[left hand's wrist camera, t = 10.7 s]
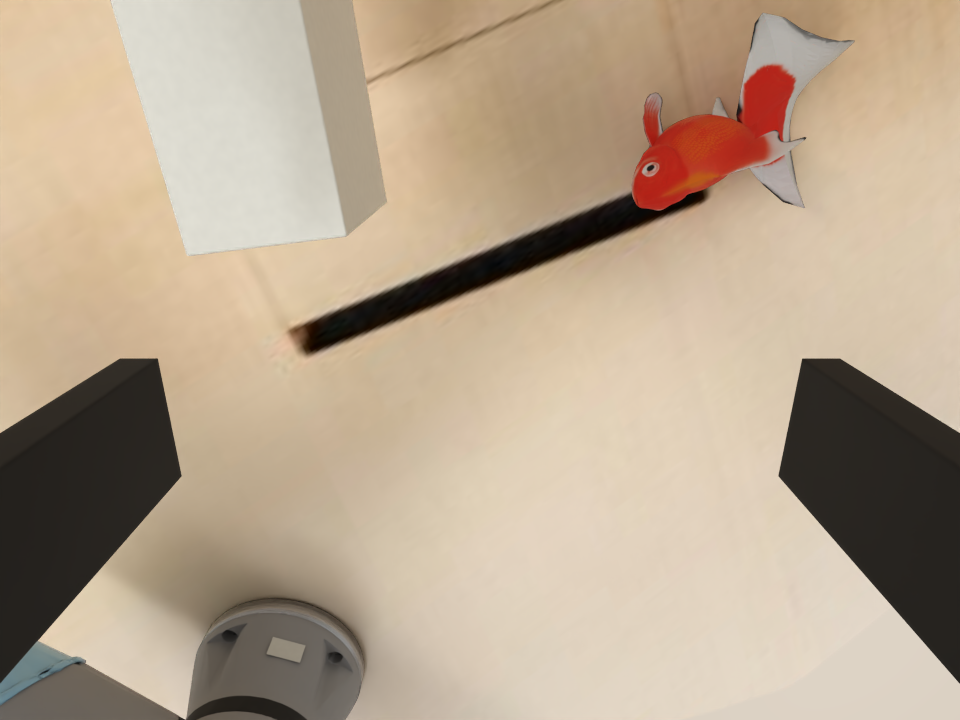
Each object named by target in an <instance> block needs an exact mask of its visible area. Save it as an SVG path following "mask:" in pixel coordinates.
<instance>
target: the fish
mask: <svg viewBox="0 0 960 720" xmlns="http://www.w3.org/2000/svg"><path fill="white" fill-rule="evenodd" d="M853 43H854V41H853V40H847V41H836V40H831V39H826V38H822V37H819V36H817V35H815V34H812V33H810V32H807V31H805V30H802V29H801V28H799V27H798V26H796V25H795V24H793V23H792V22H790V21H789V20H787V19H786V18H784V17H780V16H775V15H771V14H766V13H762V15H761V16H760V17H759V19H758V20H757V21H756V23H755V26H754V31H753V37H752V42H751V48H750V52H749V56H748V60H747V64H746V68H745V73H744V78H743V83H742V88H741V93H740V98H739V104H738V109H737V114H736V115H737V121H735V120H733V119H730V118H729V116H728V115H727V113H726V111H725V109H724V107H723V105H722V102H721V100H720V98H716V102H715V105H714V108H713V112H712V115H711V114H705V115H697V116H692V117H689V118H686V119H683V120H681V121H679V122H677V123H675V124H673V125H672V126H670V127H669V128H667V129H666V130H665V131H664V132H663V130H662V124H661V119H660V112H661V107H662V98H661V96H660V95H659V94H658V93H653V94H650V95H649V96H648V98H647V99H646V102H645V110H644V116H643V123H644V130H645V134H646V136H647V139H648V141H649V144H650V148H649V149H648V150H647V151H646V152H645V153H644V154H643V156H642V158H641V160H640V162H639V164H638V165H637V167H636V170H635V173H634V176H633V180H632V196H633V199H634V201H635V203H636V204H637V205H638V206H639V207H640V208H648V209H654V210H662V209H665V208H666V207H668V206H670V205H671V204H674V203H676V202H678V201H680V200H682V199H683V198H684V197H685V196H686V195H687V194H690V193H693V192H697V191H700V190H703V189H706V188H708V187H709V186H711V185H713V184H715V183H717V182H719V181H720V180H722V179H723V178H724V177H726V176H727V175H728V174H731V173H734V172H737V171H741V170H744V169H747V168H750V170H751V171H752V172H753V174H754V175H755V176H756V178H757V179H758V180H759V181H760V182H761V183H762V184H763V185H764V186H765V187H766V188H768V189H769V190H770V191H771V192H772V193H773V194H775V195H776V196H777V197H778V198H779V199H780V200H781V201H783V202H785V203H788V204H792V205H795V206H799V207H803V208H805V207H804V204H803V201H802V199H801V196H800V193H799V190H798V187H797V183H796V177H795V172H794V167H793V161H792V156H791V150H792V149H793V148H794V147H796V146H797V145H798V144H800V143H801V142H802V141H804V140H805V139H806V137H804V138H800V139H797V140H793V141H790V121H791V115H792V110H793V107H794V104H795V102H796V99H797V97H798V96H799V94H800V93H801V91H802V90H803V89H804V87H805V86H806V85H807V84H808V83H809V82H810V81H811V80H812V79H813V78H814V77H815V76H816V75H817V74H818V73H819V72H820V71H821V70H823V69H824V68H825V67H826V66H827V65H829V64H830V63H831V62H833V61H834V60H835V59H836V58H837V57H838V56H839V55H840V54H841V53H843V52H844V51H845V50H846V49H847V48H848V47H849V46H851V45H852V44H853Z"/></svg>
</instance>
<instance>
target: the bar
mask: <svg viewBox="0 0 960 720" xmlns="http://www.w3.org/2000/svg"><path fill="white" fill-rule="evenodd" d="M110 1H111V4H112V8H113V11H114V14H115V18H116V21H117V24H118V28H119V31H120V34H121V38H122V41H123V44H124V48H125V51H126V54H127V57H128V61H129V64H130V67H131V71H132V74H133V77H134V81H135V84H136V87H137V91H138V94H139V97H140V101H141V104H142V107H143V111H144V114H145V117H146V121H147V124H148V127H149V131H150V134H151V137H152V141H153V144H154V147H155V151H156V154H157V157H158V161H159V164H160V167H161V171H162V174H163V177H164V181H165V184H166V187H167V191H168V194H169V197H170V201H171V204H172V207H173V211H174V214H175V217H176V221H177V224H178V227H179V231H180V234H181V237H182V241H183V244H184V247H185V251H186V254H187V255H188V256H193V255H202V254H210V253H218V252H226V251H234V250H242V249H250V248H258V247H267V246H275V245H283V244H291V243H299V242H307V241H315V240H323V239H331V238H340V237H346V236H347V235H349V234H350V233H351V232H352V231H353V230H355V229H356V228H357V227H358V226H359V225H360V224H362V223H363V222H364V221H365V220H366V219H368V218H369V217H370V216H371V215H372V214H373V213H375V212H376V211H377V210H378V209H379V208H381V207H382V206H383V205H384V204H385V203H386V202H387V200H386V194H385V188H384V183H383V177H382V171H381V165H380V159H379V154H378V148H377V142H376V136H375V130H374V124H373V119H372V113H371V107H370V101H369V95H368V90H367V84H366V78H365V72H364V66H363V61H362V55H361V49H360V43H359V37H358V32H357V26H356V20H355V14H354V8H353V3H352V0H110Z"/></svg>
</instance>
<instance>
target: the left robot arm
mask: <svg viewBox="0 0 960 720" xmlns="http://www.w3.org/2000/svg"><path fill="white" fill-rule="evenodd" d="M180 477H181V471H180V466H179V461H178V456H177V451H176V446H175V441H174V437H173V432H172V427H171V422H170V417H169V412H168V407H167V402H166V397H165V392H164V387H163V382H162V378H161V373H160V368H159V363H158V359H119V360H117V361H116V362H114V363H112V364H111V365H109V366H107V367H106V368H104V369H103V370H101V371H99V372H98V373H96V374H95V375H93V376H91V377H90V378H88V379H87V380H85V381H83V382H82V383H80V384H79V385H77V386H75V387H74V388H72V389H71V390H69V391H67V392H66V393H64V394H62V395H61V396H59V397H58V398H56V399H54V400H53V401H51V402H50V403H48V404H46V405H45V406H43V407H42V408H40V409H38V410H37V411H35V412H34V413H32V414H30V415H29V416H27V417H26V418H24V419H22V420H21V421H19V422H18V423H16V424H14V425H13V426H11V427H9V428H8V429H6V430H5V431H3V432H1V433H0V720H185V719H183V718H181V717H179V716H178V715H176V714H175V713H173V712H171V711H169V710H167V709H166V708H164V707H162V706H160V705H158V704H157V703H155V702H153V701H151V700H150V699H148V698H146V697H144V696H142V695H141V694H139V693H137V692H135V691H133V690H132V689H130V688H128V687H126V686H125V685H123V684H121V683H119V682H117V681H116V680H114V679H112V678H110V677H108V676H107V675H105V674H103V673H101V672H99V671H98V670H96V669H94V668H92V667H91V666H89V665H87V664H85V663H86V660H84V659H82V658H81V657H70V656H68V655H66V654H64V653H62V652H60V651H58V650H56V649H53V648H51V647H49V646H47V645H45V644H43V643H41V642H39V641H38V640H39V639H40V637H41V636H42V635H43V634H44V633H45V632H46V631H47V629H48V628H49V627H50V626H51V625H52V624H53V623H54V621H55V620H56V619H57V618H58V617H59V616H60V615H61V613H62V612H63V611H64V610H65V609H66V608H67V607H68V605H69V604H70V603H71V602H72V601H73V600H74V599H75V597H76V596H77V595H78V594H79V593H80V592H81V591H82V589H83V588H84V587H85V586H86V585H87V584H88V583H89V581H90V580H91V579H92V578H93V577H94V576H95V575H96V573H97V572H98V571H99V570H100V569H101V568H102V567H103V565H104V564H105V563H106V562H107V561H108V560H109V559H110V557H111V556H112V555H113V554H114V553H115V552H116V551H117V549H118V548H119V547H120V546H121V545H122V544H123V542H124V541H125V540H126V539H127V538H128V537H129V536H130V534H131V533H132V532H133V531H134V530H135V529H136V528H137V526H138V525H139V524H140V523H141V522H142V521H143V520H144V518H145V517H146V516H147V515H148V514H149V513H150V512H151V510H152V509H153V508H154V507H155V506H156V505H157V504H158V502H159V501H160V500H161V499H162V498H163V497H164V496H165V494H166V493H167V492H168V491H169V490H170V489H171V488H172V486H173V485H174V484H175V483H176V482H177V481H178V480H179V478H180ZM779 477H780V478H781V480H782V481H783V482H784V483H785V484H786V485H787V486H788V488H789V489H790V490H791V491H792V492H793V493H794V494H795V496H796V497H797V498H798V499H799V500H800V501H801V502H802V504H803V505H804V506H805V507H806V508H807V509H808V510H809V512H810V513H811V514H812V515H813V516H814V517H815V518H816V520H817V521H818V522H819V523H820V524H821V525H822V526H823V528H824V529H825V530H826V531H827V532H828V533H829V534H830V536H831V537H832V538H833V539H834V540H835V541H836V542H837V544H838V545H839V546H840V547H841V548H842V549H843V551H844V552H845V553H846V554H847V555H848V556H849V557H850V559H851V560H852V561H853V562H854V563H855V564H856V565H857V567H858V568H859V569H860V570H861V571H862V572H863V573H864V575H865V576H866V577H867V578H868V579H869V580H870V581H871V583H872V584H873V585H874V586H875V587H876V588H877V589H878V591H879V592H880V593H881V594H882V595H883V596H884V597H885V599H886V600H887V601H888V602H889V603H890V604H891V605H892V607H893V608H894V609H895V610H896V611H897V612H898V613H899V615H900V616H901V617H902V618H903V619H904V620H905V621H906V623H907V624H908V625H909V626H910V627H911V628H912V629H913V631H914V632H915V633H916V634H917V635H918V636H919V637H920V639H921V640H922V641H923V642H924V643H925V644H926V645H927V647H928V648H929V649H930V650H931V651H932V652H933V653H934V655H935V656H936V657H937V658H938V659H939V660H940V661H941V663H942V664H943V665H944V666H945V667H946V668H947V669H948V671H949V672H950V673H951V674H952V675H953V676H954V677H955V679H956V680H957V681H958V682H959V683H960V433H959V432H957V431H955V430H954V429H952V428H951V427H949V426H947V425H946V424H944V423H942V422H941V421H939V420H938V419H936V418H934V417H933V416H931V415H930V414H928V413H926V412H925V411H923V410H922V409H920V408H918V407H917V406H915V405H914V404H912V403H910V402H909V401H907V400H906V399H904V398H902V397H901V396H899V395H898V394H896V393H894V392H893V391H891V390H889V389H888V388H886V387H885V386H883V385H881V384H880V383H878V382H877V381H875V380H873V379H872V378H870V377H869V376H867V375H865V374H864V373H862V372H861V371H859V370H857V369H856V368H854V367H853V366H851V365H849V364H848V363H846V362H844V361H843V360H841V359H802V363H801V368H800V373H799V378H798V382H797V387H796V392H795V397H794V402H793V407H792V412H791V417H790V422H789V427H788V432H787V437H786V441H785V446H784V451H783V456H782V461H781V466H780V471H779ZM363 674H364V660H363V655H362V651H361V649H360V646H359V644H358V642H357V641H356V639H355V637H354V636H353V635H352V633H351V632H350V631H349V630H348V629H347V628H346V626H344V625H343V624H342V623H341V622H340V621H339V620H337V619H336V618H335V617H333V616H332V615H330V614H328V613H327V612H325V611H323V610H321V609H319V608H317V607H314V606H312V605H309V604H306V603H302V602H298V601H293V600H286V599H262V600H255V601H251V602H247V603H244V604H241V605H238V606H236V607H234V608H232V609H230V610H228V611H227V612H225V613H224V614H223V615H221V616H220V617H219V618H218V619H217V620H216V621H215V622H214V623H213V624H212V626H211V627H210V629H209V630H208V632H207V634H206V636H205V637H204V639H203V641H202V643H201V645H200V647H199V649H198V651H197V654H196V659H195V663H194V670H193V676H192V683H191V690H190V697H189V704H188V711H187V718H186V720H345V719H346V718H347V716H348V715H349V713H350V711H351V710H352V708H353V706H354V704H355V703H356V700H357V698H358V696H359V693H360V688H361V683H362V679H363Z"/></svg>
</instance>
